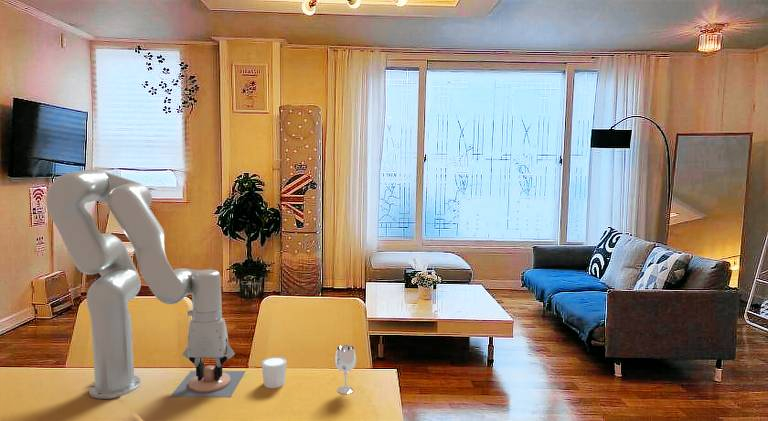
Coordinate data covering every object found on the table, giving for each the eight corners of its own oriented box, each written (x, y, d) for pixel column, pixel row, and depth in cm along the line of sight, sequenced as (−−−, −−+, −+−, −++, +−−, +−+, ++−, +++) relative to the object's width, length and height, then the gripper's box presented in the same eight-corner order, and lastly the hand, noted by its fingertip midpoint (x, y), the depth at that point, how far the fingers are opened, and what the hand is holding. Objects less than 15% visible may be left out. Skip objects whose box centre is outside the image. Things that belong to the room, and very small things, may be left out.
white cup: (257, 385, 145) (256, 361, 144) (277, 377, 150) (277, 354, 149) (271, 393, 141) (270, 368, 140) (292, 385, 146) (291, 361, 145)
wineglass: (352, 396, 140) (353, 353, 138) (332, 393, 141) (332, 351, 139) (358, 386, 145) (358, 345, 144) (338, 384, 146) (338, 343, 145)
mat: (169, 399, 137) (169, 396, 137) (191, 372, 153) (191, 370, 153) (230, 399, 137) (230, 397, 137) (245, 372, 153) (245, 371, 153)
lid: (181, 382, 145) (181, 367, 144) (218, 371, 153) (217, 356, 152) (200, 396, 137) (199, 380, 137) (237, 383, 145) (237, 368, 145)
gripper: (171, 319, 139) (174, 384, 141) (234, 320, 139) (235, 385, 141) (182, 310, 146) (184, 372, 149) (241, 311, 146) (243, 373, 149)
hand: (209, 378), depth 145 cm, fingers open, 4 cm apart
